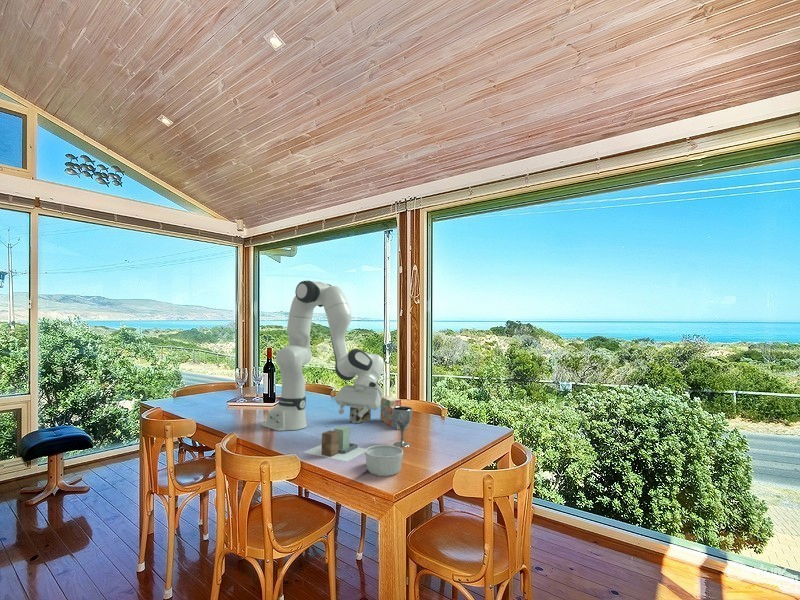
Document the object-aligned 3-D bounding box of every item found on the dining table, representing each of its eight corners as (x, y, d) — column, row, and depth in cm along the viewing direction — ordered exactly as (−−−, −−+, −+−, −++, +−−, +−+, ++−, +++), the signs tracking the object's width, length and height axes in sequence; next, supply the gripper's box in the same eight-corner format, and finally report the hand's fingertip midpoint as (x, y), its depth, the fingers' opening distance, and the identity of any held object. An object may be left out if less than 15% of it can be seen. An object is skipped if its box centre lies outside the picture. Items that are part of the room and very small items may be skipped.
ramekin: (384, 481, 131) (385, 459, 131) (356, 471, 139) (357, 450, 140) (410, 470, 141) (411, 450, 141) (382, 461, 149) (383, 442, 150)
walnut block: (321, 454, 151) (322, 433, 152) (328, 451, 155) (329, 430, 156) (331, 456, 149) (331, 434, 150) (338, 453, 153) (339, 431, 154)
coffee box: (356, 423, 203) (357, 391, 204) (349, 421, 208) (350, 389, 208) (371, 421, 209) (371, 389, 210) (363, 418, 214) (364, 387, 214)
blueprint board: (302, 455, 154) (302, 449, 154) (328, 444, 168) (328, 438, 168) (346, 465, 145) (346, 458, 145) (369, 452, 159) (370, 446, 159)
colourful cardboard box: (408, 429, 196) (409, 403, 196) (396, 430, 193) (397, 404, 194) (390, 419, 215) (391, 395, 216) (379, 420, 212) (380, 396, 213)
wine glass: (393, 441, 175) (393, 406, 175) (411, 441, 174) (412, 406, 175) (392, 447, 167) (392, 410, 167) (411, 447, 166) (412, 410, 167)
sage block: (333, 449, 158) (333, 428, 159) (340, 446, 162) (340, 425, 163) (342, 451, 156) (343, 430, 156) (349, 448, 160) (350, 427, 160)
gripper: (340, 380, 177) (326, 406, 168) (381, 385, 168) (368, 413, 158) (346, 389, 181) (332, 415, 171) (386, 394, 171) (373, 422, 162)
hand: (349, 414), depth 165 cm, fingers open, 8 cm apart
